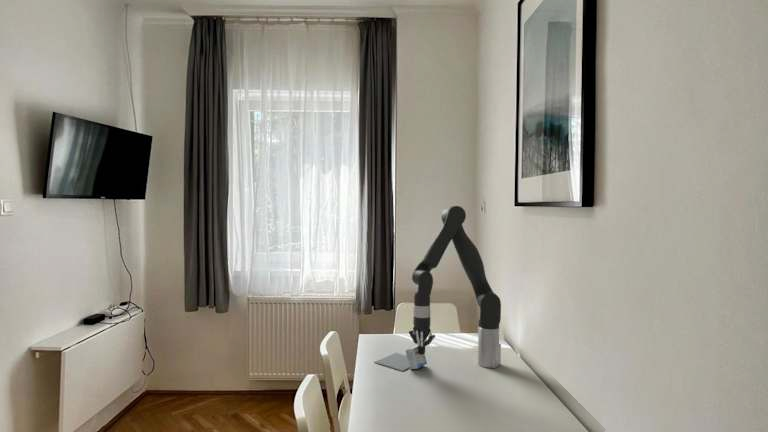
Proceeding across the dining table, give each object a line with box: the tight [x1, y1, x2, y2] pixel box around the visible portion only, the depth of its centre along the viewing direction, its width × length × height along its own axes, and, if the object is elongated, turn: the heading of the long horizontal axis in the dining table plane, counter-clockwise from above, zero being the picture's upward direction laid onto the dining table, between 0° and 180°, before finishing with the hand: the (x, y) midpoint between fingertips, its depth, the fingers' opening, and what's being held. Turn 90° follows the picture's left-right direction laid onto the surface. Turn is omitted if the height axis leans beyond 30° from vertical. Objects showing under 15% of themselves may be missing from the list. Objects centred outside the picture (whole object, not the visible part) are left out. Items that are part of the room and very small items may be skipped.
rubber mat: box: [374, 352, 410, 373], centre depth 189 cm, size 16×16×1 cm
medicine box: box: [405, 344, 428, 370], centre depth 183 cm, size 8×4×9 cm, turn 143°
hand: (421, 354), depth 181 cm, fingers closed
